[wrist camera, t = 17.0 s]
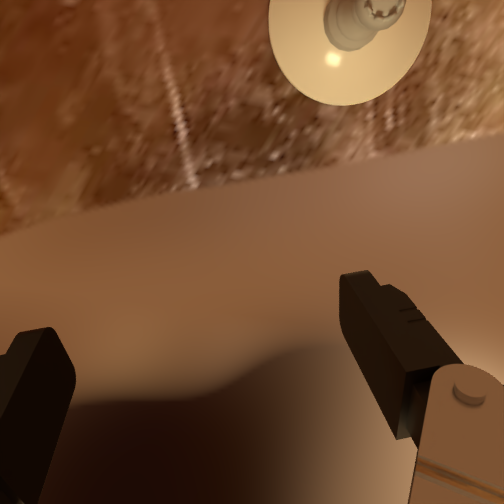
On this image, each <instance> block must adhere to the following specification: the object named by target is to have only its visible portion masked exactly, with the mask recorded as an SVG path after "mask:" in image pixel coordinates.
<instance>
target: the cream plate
mask: <svg viewBox="0 0 504 504" xmlns="http://www.w3.org/2000/svg"><path fill="white" fill-rule="evenodd" d="M329 2H330V0H270V4H269V11H268V33H269V39H270V44H271V48H272V51H273V55H274V57H275V60H276V62H277V64H278V66H279V68H280V70H281V71H282V73H283V75H284V76H285V77H286V78H287V80H288V81H289V82H290V83H291V84H292V85H293V86H294V87H295V88H296V89H297V90H298V91H300V92H301V93H302V94H304V95H305V96H307V97H309V98H311V99H313V100H315V101H318V102H321V103H325V104H330V105H342V106H344V105H354V104H359V103H363V102H366V101H368V100H371V99H373V98H375V97H377V96H379V95H381V94H383V93H384V92H386V91H387V90H388V89H390V88H391V87H392V86H393V85H395V84H396V83H397V82H398V81H399V80H400V79H401V78H402V77H403V76H404V75H405V74H406V72H407V71H408V70H409V68H410V67H411V66H412V64H413V63H414V61H415V59H416V58H417V56H418V54H419V52H420V50H421V48H422V45H423V43H424V41H425V37H426V34H427V31H428V27H429V22H430V17H431V7H432V0H406V4H405V7H404V11H403V13H402V15H401V16H400V18H399V19H398V20H397V22H396V23H395V24H393V25H392V26H391V27H389V28H388V29H385V30H380V31H378V33H377V34H376V36H375V37H374V38H373V40H372V41H371V42H369V43H368V44H367V45H365V46H364V47H362V48H361V49H359V50H355V51H351V52H347V51H343V50H338V49H337V48H336V47H335V46H333V45H332V44H331V43H330V42H329V40H328V38H327V36H326V34H325V30H324V21H323V19H324V15H325V10H326V7H327V5H328V4H329Z"/></svg>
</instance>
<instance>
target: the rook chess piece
mask: <svg viewBox="0 0 504 504" xmlns="http://www.w3.org/2000/svg"><path fill="white" fill-rule="evenodd" d="M405 4H406V0H330V2H329V4H328V5H327V7H326V10H325V15H324V19H323V21H324V30H325V34H326V36H327V38H328V40H329V42H330V43H331V44H332V45H333V46H335V47H336V48H337V49H338V50H343V51H347V52H351V51H355V50H359V49H361V48H362V47H364V46H365V45H367V44H368V43H369V42H371V41H372V40H373V38H374V37H375V36H376V34H377V33H378V31H380V30H385V29H388V28H389V27H391V26H392V25H393V24H395V23H396V22H397V20H398V19H399V18H400V16H401V15H402V13H403V11H404V7H405Z"/></svg>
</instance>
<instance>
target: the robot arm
mask: <svg viewBox="0 0 504 504" xmlns="http://www.w3.org/2000/svg"><path fill="white" fill-rule="evenodd" d="M339 287H340V288H339V319H340V325H341V329H342V333H343V335H344V338H345V340H346V342H347V344H348V346H349V348H350V350H351V352H352V354H353V355H354V357H355V360H356V361H357V363H358V365H359V367H360V369H361V371H362V373H363V375H364V377H365V379H366V381H367V383H368V385H369V387H370V389H371V391H372V393H373V395H374V397H375V399H376V401H377V403H378V405H379V407H380V409H381V411H382V413H383V415H384V417H385V419H386V421H387V423H388V425H389V427H390V429H391V431H392V432H393V435H394V436H395V438H396V440H398V439H403V438H408V437H412V440H413V441H414V443H415V445H416V447H417V449H418V451H417V456H416V461H415V467H414V472H413V478H412V483H411V488H410V493H409V499H408V504H504V385H502V384H501V383H500V382H499V381H498V380H497V379H496V378H495V377H493V376H492V375H490V374H489V373H487V372H485V371H484V370H481V369H479V368H477V367H473V366H470V365H465V364H464V363H463V362H462V361H461V360H460V359H459V358H458V356H457V355H456V354H455V353H454V352H453V350H452V349H451V348H450V347H449V346H448V345H447V343H446V342H445V341H444V339H443V338H442V337H441V336H440V335H439V333H438V332H437V331H436V330H435V329H434V327H433V326H432V325H431V324H430V323H429V321H426V318H425V316H424V315H423V314H422V313H421V312H420V310H417V307H416V306H415V304H414V303H413V302H412V301H411V300H410V298H409V297H408V296H407V295H406V294H405V293H404V292H402V291H400V290H399V289H397V288H395V287H393V286H392V285H390V284H388V285H383V286H380V285H379V283H378V282H377V281H376V279H375V278H374V277H373V276H372V274H371V273H370V272H369V271H368V270H364V271H359V272H353V273H348V274H343V275H341V276H340V281H339ZM75 385H76V374H75V369H74V366H73V364H72V362H71V360H70V358H69V356H68V354H67V352H66V350H65V348H64V347H63V344H62V343H61V341H60V339H59V337H58V335H57V333H56V331H55V330H54V329H53V328H51V327H46V328H40V329H35V330H30V331H24V332H20V333H18V334H17V335H16V337H15V338H14V340H13V342H12V343H11V345H10V347H9V349H8V350H7V352H6V354H4V355H0V504H38V501H39V498H40V495H41V492H42V489H43V486H44V483H45V480H46V476H47V474H48V470H49V467H50V464H51V461H52V458H53V455H54V451H55V448H56V446H57V442H58V439H59V436H60V433H61V430H62V427H63V424H64V421H65V417H66V414H67V411H68V408H69V405H70V402H71V399H72V396H73V392H74V390H75Z"/></svg>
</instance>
